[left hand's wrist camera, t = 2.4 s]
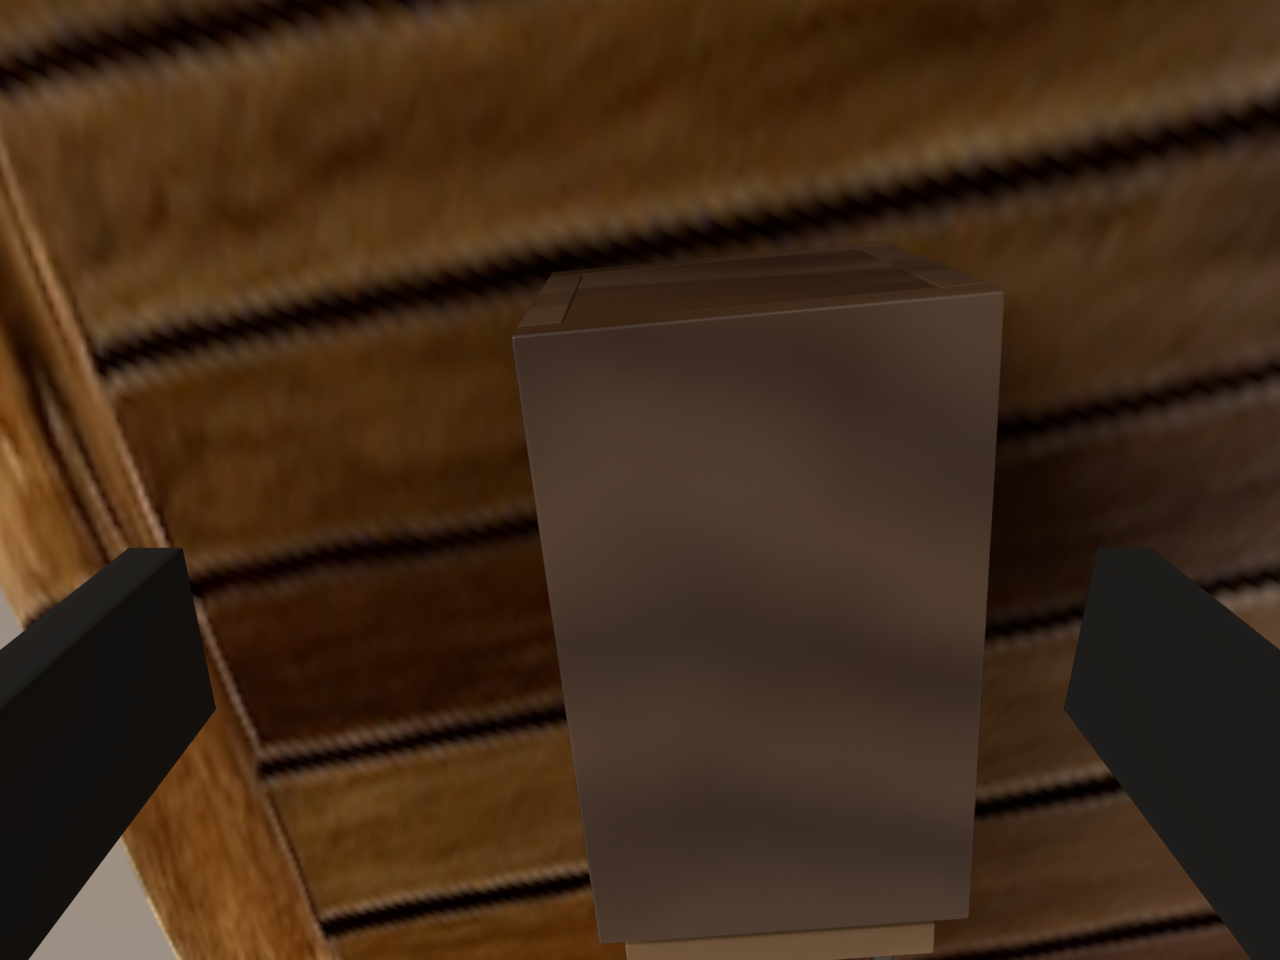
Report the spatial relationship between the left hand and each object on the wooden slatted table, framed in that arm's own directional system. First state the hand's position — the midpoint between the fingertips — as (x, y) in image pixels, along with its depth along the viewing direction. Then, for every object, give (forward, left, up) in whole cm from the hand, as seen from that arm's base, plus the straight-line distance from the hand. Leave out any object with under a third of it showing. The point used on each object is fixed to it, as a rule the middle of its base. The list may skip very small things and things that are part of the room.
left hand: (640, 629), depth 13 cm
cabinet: (-2, +6, -17) cm, 18 cm away
